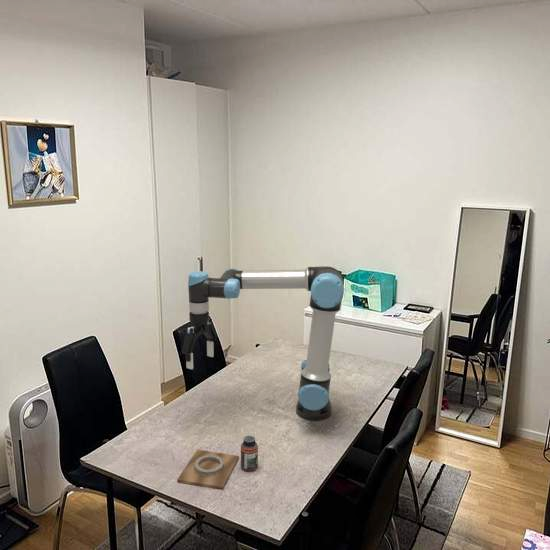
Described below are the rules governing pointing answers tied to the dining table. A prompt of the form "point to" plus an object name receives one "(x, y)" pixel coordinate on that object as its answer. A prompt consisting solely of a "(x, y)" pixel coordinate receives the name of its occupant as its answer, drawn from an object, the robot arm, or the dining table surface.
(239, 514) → the dining table surface
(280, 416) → the dining table surface
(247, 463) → the supplement bottle
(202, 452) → the ring board
